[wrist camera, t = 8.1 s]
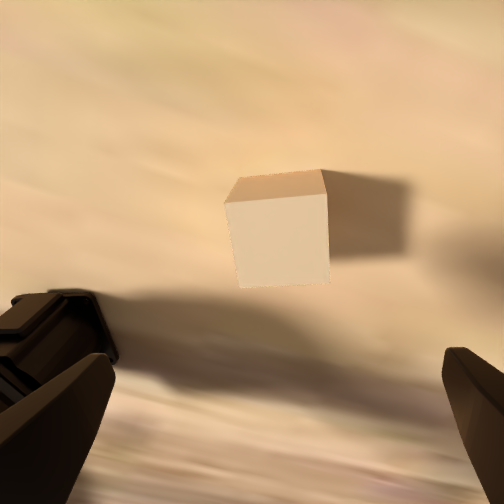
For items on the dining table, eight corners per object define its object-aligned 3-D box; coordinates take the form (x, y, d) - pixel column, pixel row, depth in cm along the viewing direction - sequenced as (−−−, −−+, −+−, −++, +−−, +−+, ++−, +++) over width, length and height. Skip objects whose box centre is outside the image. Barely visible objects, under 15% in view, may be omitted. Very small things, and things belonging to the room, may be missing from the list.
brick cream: (323, 243, 20) (330, 283, 16) (250, 248, 21) (239, 288, 17) (320, 168, 18) (326, 193, 14) (239, 177, 19) (223, 203, 15)
